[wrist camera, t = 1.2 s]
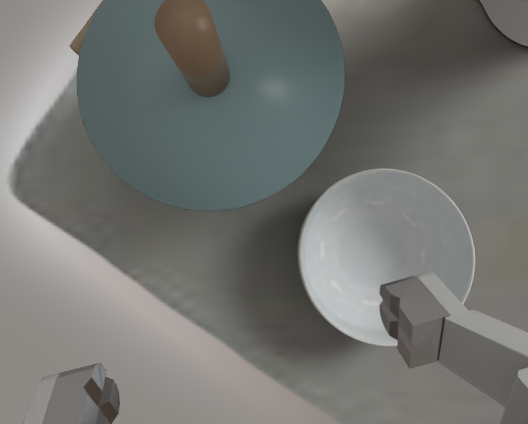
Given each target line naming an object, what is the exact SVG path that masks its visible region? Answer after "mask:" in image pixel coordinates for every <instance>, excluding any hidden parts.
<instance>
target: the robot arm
mask: <svg viewBox="0 0 528 424" xmlns="http://www.w3.org/2000/svg"><path fill="white" fill-rule="evenodd" d="M480 2H481V3H482V5H483V7H484V9H485V11H486V13H487V14H488V16H489V18H490V20H491V21H492V22H493V24H494V25H495V26H496V27H497V28H498V29H499V30H500V31H501V32H502V33H503V34H504V35H505V36H507V37H508V38H510V39H511V40H513V41H515V42H517V43H519V44H522V45H524V46H527V47H528V0H480ZM379 294H380V296H381V297H382V299H383V301H382V302H381V303H380V305H379V306H380V316H381V319H382V323H383V325H384V327H385V329H386V331H387V333H388V334H389V336H390V337H392V338H394V339H396V340H398V342H397V349H398V351H399V352H400V354H401V356H402V357H403V359H404V360H405V362H406V364H407V365H408V367H409V369H410V368H414V367H418V366H421V365H425V364H429V363H433V362H436V361H439V362H438V363H440V364H441V365H443V366H444V367H446V368H447V369H449V370H450V371H452V372H453V373H455V374H456V375H458V376H459V377H461V378H462V379H464V380H465V381H467V382H468V383H470V384H471V385H473V386H474V387H476V388H477V389H479V390H480V391H482V392H483V393H485V394H486V395H488V396H489V397H491V398H492V399H494V400H495V401H497V402H498V403H500V404H501V405H503V406H504V407H505V410H504V413H503V416H502V419H501V421H500V424H528V333H527V332H525V331H523V330H520V329H518V328H516V327H513V326H511V325H509V324H506V323H504V322H502V321H499V320H497V319H495V318H492V317H490V316H488V315H485V314H483V313H481V312H478V311H476V310H470V311H468V310H467V308H466V307H465V306H464V305H463V304H462V303H461V302H460V301H459V300H458V299H457V298H456V296H455V295H454V294H453V293H452V292H451V291H450V290H449V289H448V288H447V287H446V286H445V285H444V283H443V282H442V281H441V280H440V279H439V278H438V277H437V276H436V275H435V274H434V273H433V272H431V271H428V272H424V273H421V274H417V275H414V276H409V277H406V278H402V279H399V280H396V281H392V282H389V283H385V284H382V285H381V286H380V293H379ZM105 375H106V369H105V368H104V366H103V365H102V364H101V363H99V364H94V365H90V366H86V367H82V368H78V369H74V370H70V371H66V372H62V373H58V374H54V375H51V376H47V377H43V378H42V379H41V380H40V381H39V382H38V384H37V386H36V389H35V391H34V394H33V397H32V400H31V403H30V405H29V408H28V411H27V413H26V416H25V419H24V421H23V424H112V422H113V421H114V420H115V418H116V417H117V415H118V414H119V406H120V401H119V400H120V399H119V391H118V388H117V385H116V383H115V382H114V380H113V379H110V378H107V377H105Z"/></svg>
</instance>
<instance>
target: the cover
mask: <svg viewBox="0 0 528 424" xmlns="http://www.w3.org/2000/svg"><path fill="white" fill-rule="evenodd" d="M344 83H345V66H344V57H343V51H342V45H341V41H340V38H339V35H338V32H337V29H336V26H335V24H334V22H333V20H332V18H331V15H330V13H329V11H328V10H327V8H326V7H325V5H324V4H323V2H322V1H321V0H104V2H103V3H102V4H101V6H100V7H99V8H98V10H97V12H96V14H95V15H94V17H93V19H92V21H91V22H90V25H89V27H88V29H87V32H86V34H85V37H84V39H83V43H82V47H81V50H80V54H79V60H78V68H77V95H78V103H79V109H80V112H81V116H82V120H83V123H84V126H85V128H86V131H87V133H88V136H89V138H90V140H91V142H92V143H93V145H94V147H95V149H96V150H97V152H98V154H99V155H100V156H101V158H102V159H103V160H104V162H105V163H106V164H107V165H108V167H109V168H110V169H111V170H112V171H113V172H114V173H115V174H116V175H117V176H118V177H119V178H120V179H121V180H123V181H124V182H125V183H127V184H128V185H129V186H131V187H132V188H133V189H135V190H136V191H138V192H140V193H142V194H144V195H145V196H147V197H149V198H151V199H154V200H156V201H159V202H161V203H164V204H166V205H170V206H174V207H178V208H182V209H187V210H195V211H225V210H232V209H238V208H242V207H245V206H249V205H252V204H255V203H258V202H260V201H262V200H264V199H267V198H269V197H271V196H273V195H275V194H276V193H278V192H279V191H281V190H283V189H284V188H286V187H287V186H289V185H290V184H291V183H292V182H294V181H295V180H296V179H297V178H299V177H300V176H301V175H302V174H303V173H304V172H305V171H306V170H307V168H308V167H309V166H310V165H311V164H312V163H313V162H314V160H315V159H316V158H317V156H318V155H319V154H320V152H321V151H322V149H323V147H324V146H325V144H326V142H327V140H328V138H329V137H330V135H331V133H332V131H333V128H334V126H335V123H336V121H337V118H338V115H339V112H340V108H341V104H342V99H343V93H344Z"/></svg>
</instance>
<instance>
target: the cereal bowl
mask: <svg viewBox="0 0 528 424" xmlns="http://www.w3.org/2000/svg"><path fill="white" fill-rule="evenodd" d="M297 250H298V252H297V255H298V266H299V271H300V276H301V280H302V283H303V285H304V288H305V290H306V293H307V295H308V297H309V298H310V300H311V302H312V304H313V305H314V307H315V308H316V309H317V311H318V312H319V313H320V314H321V315H322V316H323V317H324V318H325V319H326V320H327V321H328V322H329V323H330V324H331V325H332V326H334V327H335V328H336V329H337V330H339V331H340V332H342V333H344V334H345V335H347V336H349V337H351V338H353V339H356V340H358V341H361V342H364V343H367V344H371V345H377V346H387V347H388V346H397V342H398V340H396V339H394V338H392V337H390V336H389V334H388V333H387V331H386V329H385V327H384V325H383V323H382V319H381V316H380V306H379V305H380V303H381V302H382V301H383V299H382V297H381V296H380V294H379V293H380V286H381V285H382V284H385V283H389V282H392V281H396V280H399V279H402V278H406V277H409V276H414V275H417V274H421V273H424V272H428V271H431V272H433V273H434V274H435V275H436V276H437V277H438V278H439V279H440V280H441V281H442V282H443V283H444V285H445V286H446V287H447V288H448V289H449V290H450V291H451V292H452V293H453V294H454V295H455V296H456V298H457V299H458V300H459V301H460V302H461V303H462V304H464V302H465V300H466V298H467V296H468V293H469V291H470V288H471V285H472V282H473V278H474V270H475V251H474V245H473V240H472V236H471V233H470V230H469V227H468V225H467V223H466V221H465V219H464V217H463V215H462V213H461V212H460V210H459V209H458V207H457V206H456V205H455V203H454V202H453V201H452V200H451V199H450V198H449V197H448V196H447V195H446V194H445V193H444V192H443V191H442V190H441V189H439V188H438V187H437V186H435V185H434V184H433V183H431V182H429V181H428V180H426V179H424V178H422V177H420V176H418V175H415V174H413V173H410V172H407V171H403V170H397V169H386V168H380V169H370V170H365V171H360V172H357V173H354V174H351V175H349V176H347V177H345V178H343V179H340V180H339V181H337V182H336V183H334V184H332V185H331V186H330V187H329V188H328V189H326V190H325V191H324V192H323V193H322V194H321V195H320V196H319V197H318V199H317V200H316V201H315V202H314V204H313V205H312V207H311V208H310V210H309V212H308V213H307V215H306V217H305V219H304V222H303V224H302V227H301V231H300V234H299V241H298V249H297Z"/></svg>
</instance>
